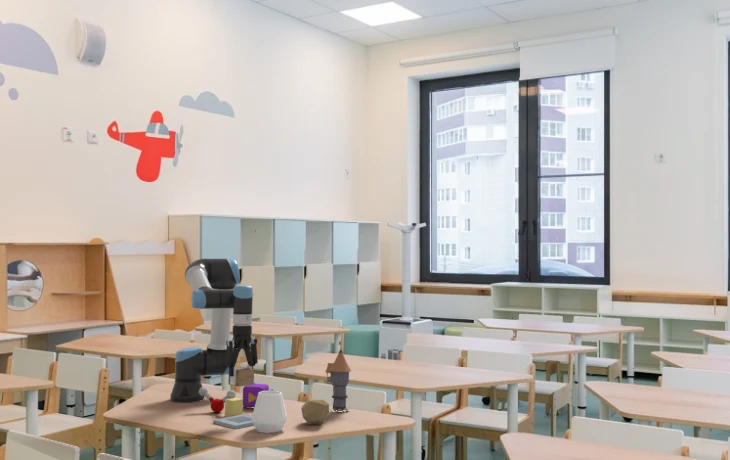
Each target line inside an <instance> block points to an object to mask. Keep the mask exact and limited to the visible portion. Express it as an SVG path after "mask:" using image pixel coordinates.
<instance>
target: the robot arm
mask: <svg viewBox="0 0 730 460" xmlns="http://www.w3.org/2000/svg"><path fill="white" fill-rule="evenodd" d="M184 278H185V281H186V282H187V284H188V285H189V286H190V287H191V289H192V292H191V295H190V296H191V298H190V302H191V307H192V308H193V309H199V310H204V309H205V310H207V309H211V324H210V342H209V343H208V344H207V345H206V349H203V347H201V346H192V347H185V348H182V349H179V350H177V351H176V353H175V360H174V362H175V365H174V367H175V370H174V383H173V387H172V390H171V393H170V397H169V398H170V399H169V400H170V402H174V403H194V402H201V401H200V400H202V401H204V400H205V398H206V397H205V396H201V395H200V394H199V389H200V388H201V387H203V385H202V376H225V375H228V377H229V376H230V384H231V385H230V386H234V385H236V368H237V367H235V366H236V364H237V360H238V358H239V354H240V352H241V350H243V352H244V355H245V358H246V363H247V365H246V367H245V368H249V369H254V367H255V366H256V365H257V364H258V363H259V361H258V360H259V359H258V349H257V344H258V339H256V338H252V333H253V326H252V324H253V301H254V300H253V298H254V297H253V296H254V292H253V286H251V285H239V284H240V281H241V280H240V279H241V276H240V268H239V265H238V261H237V260H235V259H231V258H199V259H197V260H194V261H193V262H191V263H189V265H188V266H187V267H186V269H185V271H184ZM231 313H232V316H231ZM231 317H232V324H233V325H232V335H233V337H232V339H231V340H230V334H231V332H230V331H231ZM203 399H204V400H203Z"/></svg>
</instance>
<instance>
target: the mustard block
mask: <svg viewBox="0 0 730 460" xmlns="http://www.w3.org/2000/svg"><path fill="white" fill-rule="evenodd" d="M243 409H244V407H243V398H239V397H235V398H230V399H225V403H224V418H226V417H231V416H237V415H242V414H243Z"/></svg>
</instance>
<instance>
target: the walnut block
mask: <svg viewBox="0 0 730 460" xmlns="http://www.w3.org/2000/svg"><path fill="white" fill-rule="evenodd" d="M235 368H236V385H233V386H235V387H240V388H241V387H244V386H248V385H254V382H255V369H254V368H253V369H249V368H246V367H235ZM227 385H229V386H232V385H231V384H230V376H229V375H228V383H227Z"/></svg>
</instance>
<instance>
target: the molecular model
mask: <svg viewBox="0 0 730 460" xmlns="http://www.w3.org/2000/svg"><path fill="white" fill-rule="evenodd" d="M236 393H237V392H236V391H235V390H233V389H229V390H228V391H227V392H226V395H225V396H224V397H223V398H214V397H213V396H212V395H210V393H209V391H208V388H207V387H205V386H202V387H201V388H200V389H199V394H200V395H201V396H205V397H204V398H205V399H207V400H208V401H209V402H210V408H211V410H212V412H213V413H220V412H222V411H223V410H224V409H225V399H230V398H236V395H237V394H236Z"/></svg>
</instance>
